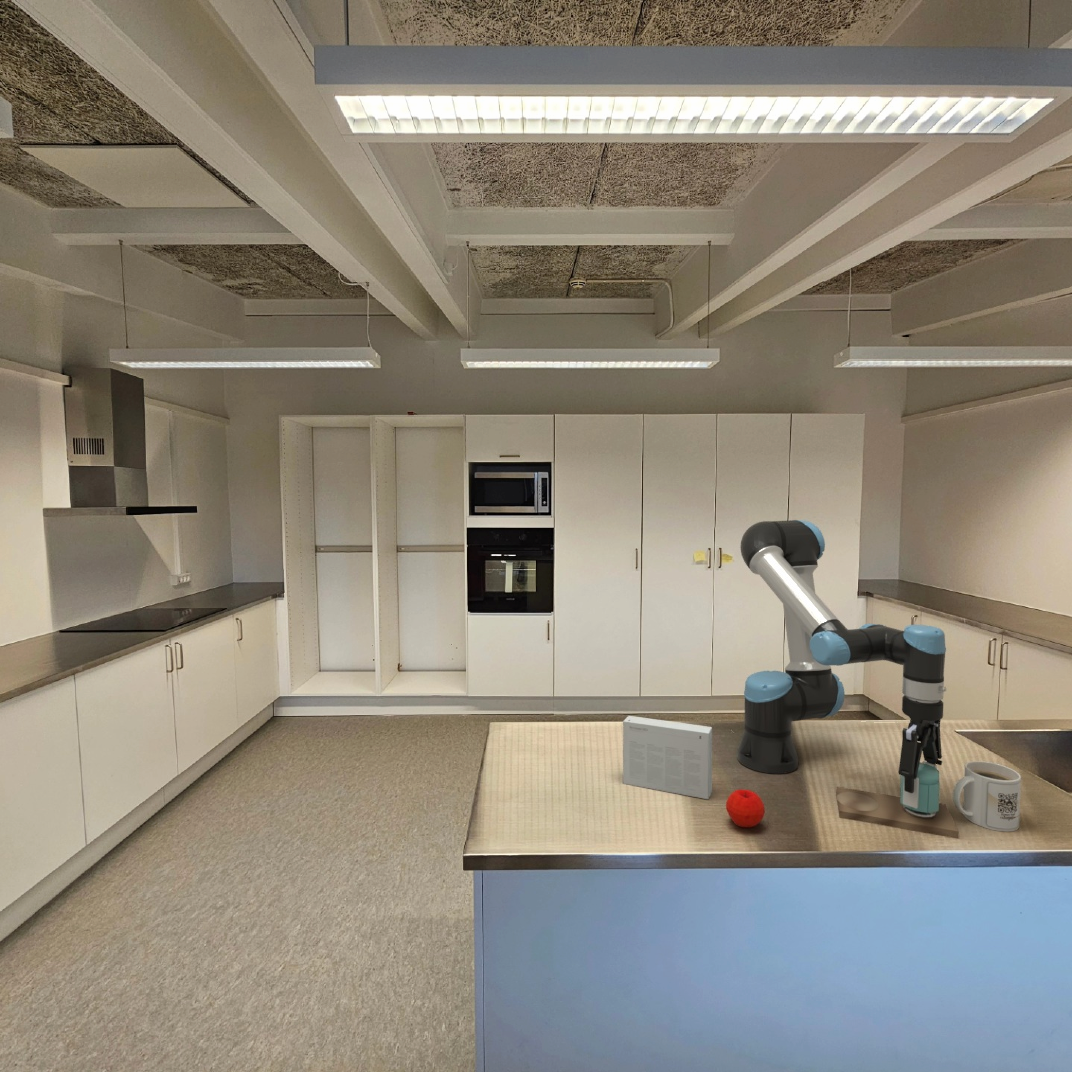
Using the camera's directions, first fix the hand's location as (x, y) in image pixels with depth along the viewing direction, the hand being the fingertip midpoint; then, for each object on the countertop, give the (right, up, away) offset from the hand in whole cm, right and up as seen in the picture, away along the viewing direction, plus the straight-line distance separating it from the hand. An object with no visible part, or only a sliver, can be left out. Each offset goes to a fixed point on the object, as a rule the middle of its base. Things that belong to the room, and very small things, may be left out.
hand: (919, 798), depth 133 cm
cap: (0, -1, 0) cm, 1 cm away
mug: (+14, -5, 0) cm, 15 cm away
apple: (-39, -5, -1) cm, 39 cm away
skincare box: (-52, -4, +16) cm, 55 cm away
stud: (0, -3, 0) cm, 3 cm away
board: (-5, -4, +2) cm, 7 cm away
